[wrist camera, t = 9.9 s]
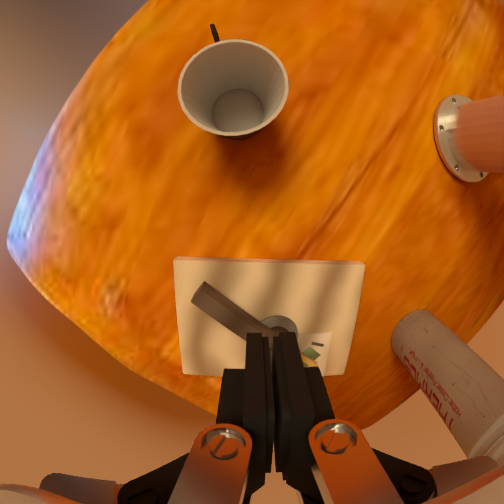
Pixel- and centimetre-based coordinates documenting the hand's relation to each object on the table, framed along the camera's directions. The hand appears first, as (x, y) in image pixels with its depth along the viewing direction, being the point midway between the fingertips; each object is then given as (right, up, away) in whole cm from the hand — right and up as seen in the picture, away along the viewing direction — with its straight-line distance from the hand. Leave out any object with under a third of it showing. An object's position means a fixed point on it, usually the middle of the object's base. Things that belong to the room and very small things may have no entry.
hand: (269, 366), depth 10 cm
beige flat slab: (+1, -5, +25) cm, 26 cm away
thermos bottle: (+23, -8, +26) cm, 36 cm away
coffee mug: (-2, +21, +19) cm, 28 cm away
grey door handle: (+1, -5, +23) cm, 23 cm away
